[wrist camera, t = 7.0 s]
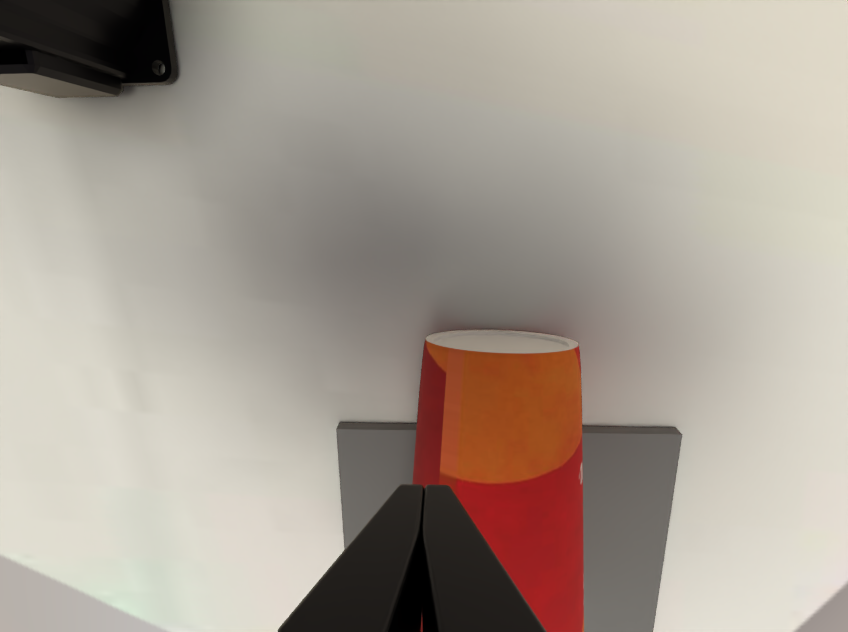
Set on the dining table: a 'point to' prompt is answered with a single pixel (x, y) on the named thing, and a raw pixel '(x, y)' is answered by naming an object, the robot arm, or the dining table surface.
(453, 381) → the paper cup
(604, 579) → the mat
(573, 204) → the dining table surface
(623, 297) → the dining table surface
